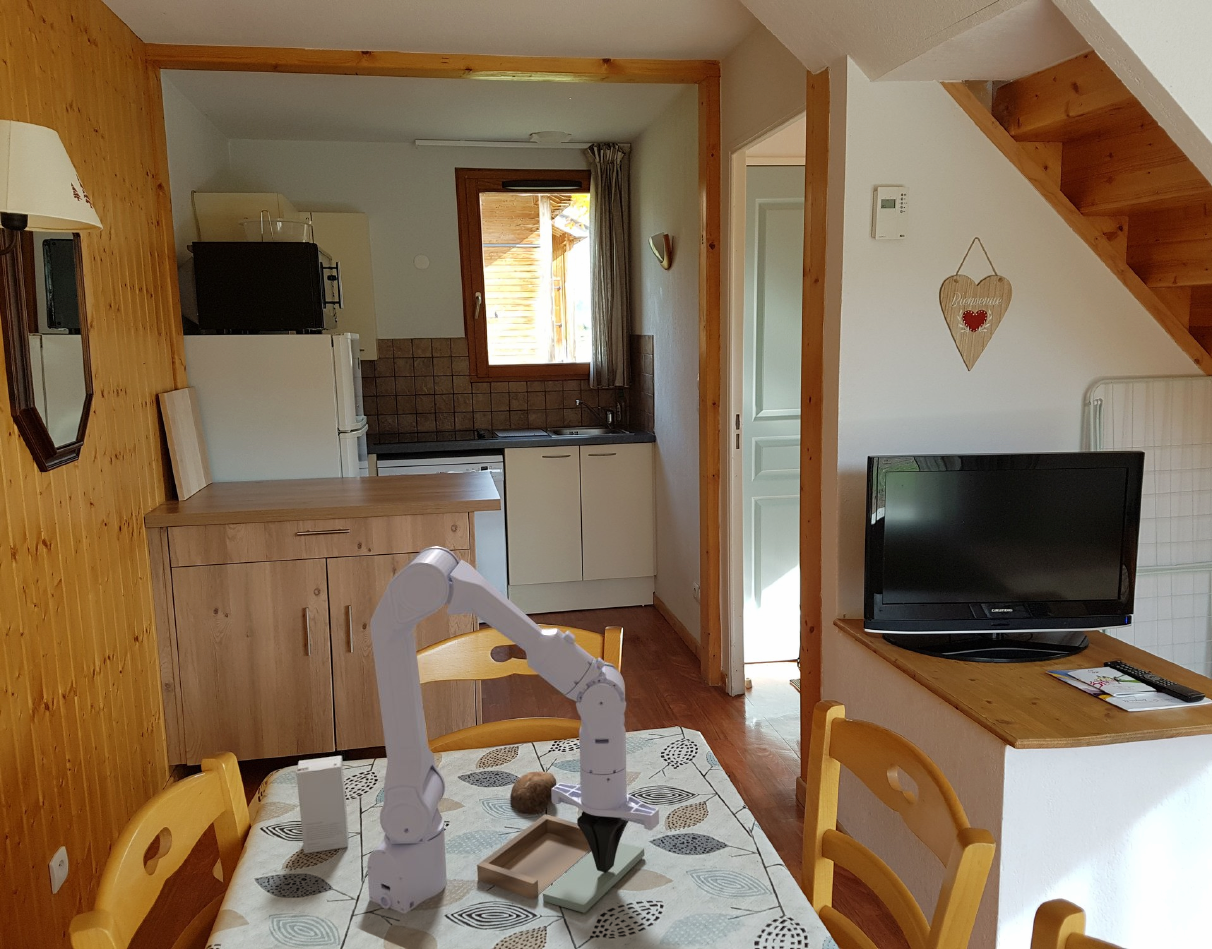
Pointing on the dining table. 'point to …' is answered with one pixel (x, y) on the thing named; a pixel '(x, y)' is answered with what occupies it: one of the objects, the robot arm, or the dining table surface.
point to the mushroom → (532, 792)
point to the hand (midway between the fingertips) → (605, 867)
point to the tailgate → (591, 880)
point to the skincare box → (322, 804)
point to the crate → (535, 857)
